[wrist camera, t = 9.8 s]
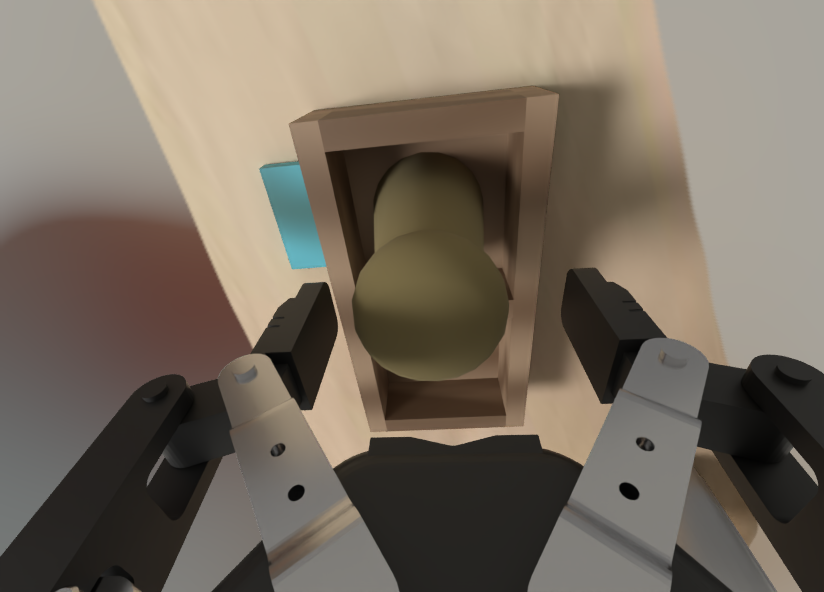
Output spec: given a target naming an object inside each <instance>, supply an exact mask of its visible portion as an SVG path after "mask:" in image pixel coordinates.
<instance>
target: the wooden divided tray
mask: <svg viewBox="0 0 824 592" xmlns="http://www.w3.org/2000/svg"><path fill="white" fill-rule="evenodd" d="M558 100H559V94H558V93H554V92H551V91H548V90H545V89H542V88H539V87H536V86H527V87H518V88H509V89H500V90H491V91H482V92H473V93H464V94H456V95H447V96H438V97H429V98H420V99H411V100H402V101H394V102H385V103H376V104H367V105H358V106H349V107H340V108H331V109H323V110H314V111H312V112H310V113H308V114H306V115H304V116H302V117H301V118H299V119H297V120H295V121H293V122H291V123H289V127H290V131H291V135H292V138H293V142H294V146H295V150H296V153H297V157H298V161H297V162H287V163H278V164H268V165H264V166H262V167H261V168H260V169H259V170H260V173H261V176H262V179H263V182H264V185H265V188H266V191H267V194H268V197H269V200H270V203H271V206H272V209H273V212H274V215H275V219H276V222H277V225H278V228H279V231H280V234H281V237H282V240H283V243H284V246H285V249H286V252H287V255H288V258H289V261H290V264H291V267H292V269H302V268H315V267H327V270H328V274H329V278H330V281H331V285H332V289H333V293H334V296H335V300H336V304H337V308H338V311H339V315H340V319H341V323H342V326H343V330H344V334H345V338H346V341H347V345H348V349H349V353H350V357H351V360H352V364H353V368H354V372H355V375H356V379H357V383H358V387H359V390H360V394H361V398H362V402H363V405H364V409H365V413H366V417H367V420H368V424H369V428H370V432H382V431H409V430H435V429H462V428H489V427H515V426H523V425H524V416H525V407H526V398H527V388H528V379H529V370H530V360H531V351H532V342H533V333H534V323H535V314H536V305H537V295H538V286H539V277H540V268H541V258H542V249H543V240H544V230H545V221H546V212H547V203H548V193H549V184H550V175H551V165H552V156H553V147H554V137H555V128H556V119H557V110H558ZM419 152H439V153H442V154H445V155H448V156H450V157H453V158H456V159H458V160H459V161H460V162H461V163H462V164H464V165H465V166H466V167H467V168H469V169H470V170H471V171H472V173H473V175H474V176H475V178H476V180H477V181H478V183H479V184H480V188H481V193H482V197H483V203H484V252H485V253H487V254H488V255H489V256H490V258H491V259H492V261H493V262H494V264H495V265H496V267H497V268H498V270H499V271H500V273H501V274H502V277H503V280H504V282H505V286H506V291H507V295H508V300H509V313H508V319H507V324H506V330H505V334H504V336H503V337H502V339H501V341H500V342H499V344H498V345H497V347H496V349H495V350H494V352H493V353H492V354H491V356H490V357H489V358H488V359H487V360H486V361H484V362H483V363H482V364H481V365H480V366H478V367H477V368H476V369H475V370H472V371H470V372H468V373H466V374H464V375H462V376H459V377H457V378H452V379H447V380H442V381H417V380H413V379H409V378H405V377H402V376H398V375H396V374H395V373H393V372H391V371H389V370H387V369H385V368H383V367H382V366H381V365H380V364H379V363H378V362H377V361H376V360H374V359H373V358H372V357H371V356H370V355H369V354H368V352H367V351H366V350H365V348H364V347H363V345H362V343H361V341H360V339H359V337H358V335H357V333H356V331H355V327H354V318H353V309H352V298H353V294H354V291H355V287H356V284H357V280H358V277H359V274H360V271H361V270H362V269H363V267H364V266H365V265H366V264H367V262H368V261H369V260H370V258H371V257H372V256H373V254H374V253H375V244H374V206H373V200H374V196H375V192H376V189H377V185H378V183H379V181H380V180H381V178H382V177H383V176H384V174H385V173H386V171H387V170H388V169H389V168H390V167H391V166H393V165H394V164H395V163H397V162H398V161H399V160H401V159H402V158H404V157H407V156H410V155H413V154H416V153H419Z"/></svg>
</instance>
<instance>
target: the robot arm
mask: <svg viewBox="0 0 824 592" xmlns="http://www.w3.org/2000/svg"><path fill="white" fill-rule="evenodd" d="M561 318H562V324H563V327H564V329H565V331H566V333H567V335H568V337H569V339H570V341H571V343H572V345H573V347H574V349H575V351H576V353H577V355H578V358H579V360H580V362H581V364H582V366H583V368H584V370H585V372H586V374H587V376H588V378H589V380H590V382H591V384H592V386H593V388H594V390H595V392H596V394H597V396H598V398H599V401H600V403H601V404H612V403H613V404H612V407H611V409H610V411H609V413H608V415H607V417H606V420H605V422H604V424H603V426H602V428H601V431H600V433H599V435H598V437H597V439H596V441H595V444H594V446H593V448H592V450H591V452H590V455H589V457H588V459H587V461H586V463H585V465H584V466H582V465H581V464H579V463H578V462H576V461H574V460H572V459H570V458H568V457H566V456H564V455H562V454H559V453H556V452H553V451H550V450H547V449H542V447H541V443H540V440H539V436H538V435H495V436H492V437H488V438H484V439H480V440H476V441H472V442H468V443H465V444H461V445H456V446H450V445H445V444H440V443H436V442H431V441H427V440H422V439H417V438H413V437H382V438H371V439H370V446H369V451H367V452H363V453H360V454H358V455H355V456H353V457H351V458H349V459H347V460H345V461H344V462H342V463H340V464H339V465H337V466H336V467H335V468H332V466H331V464H330V463H329V461H328V459H327V457H326V455H325V454H324V452H323V450H322V448H321V446H320V445H319V443H318V441H317V439H316V437H315V435H314V434H313V432H312V430H311V428H310V426H309V425H308V423H307V421H306V419H305V417H304V415H303V414H302V412H301V410H312V408H313V405H314V402H315V400H316V397H317V394H318V391H319V388H320V385H321V382H322V379H323V376H324V373H325V370H326V367H327V364H328V361H329V358H330V355H331V352H332V349H333V346H334V343H335V340H336V337H337V332H338V322H337V317H336V313H335V309H334V305H333V301H332V297H331V293H330V289H329V286H328V284H327V283H326V282H319V283H304V284H303V285H302V287H301V289H300V290H299V292H298V294H297V296H296V298H289V299H288V300H287V301H286V302H285V303H283V304H282V305H281V306H280V307H278V309H277V311H276V312H275V314H274V316H273V319H271V321H270V322H269V324H268V328H266V329H265V331H264V332H263V334H262V336H261V337H260V339H259V341H258V342H257V344H256V345H255V347H254V349H253V350H252V352H251V354H250V355H246V356H242V357H240V358H238V359H236V360H234V361H232V362H231V363H229V364H228V365H227V366H226V367H225V368H224V369H223V370H222V371H221V373H220V375H219V377H218V379H215V380H211V381H208V382H204V383H200V384H196V385H193V386H189V385H188V383H187V381H186V380H185V378H184V377H182V376H180V375H176V374H171V375H165V376H161V377H158V378H156V379H153V380H151V381H149V382H148V383H146V384H144V385H142V386H141V387H140V388H139V389H137V390H136V391H135V392H134V393H133V394H132V395H131V396H130V398H129V399H128V400H127V401H126V403H125V404H124V405H123V406H122V407H121V409H120V410H119V411H118V412H117V414H116V415H115V416H114V417H113V418H112V420H111V421H110V422H109V423H108V425H107V426H106V427H105V428H104V430H103V431H102V432H101V433H100V434H99V436H98V437H97V438H96V440H95V441H94V442H93V443H92V444H91V446H90V447H89V448H88V449H87V451H86V452H85V453H84V454H83V456H82V457H81V458H80V459H79V461H78V462H77V463H76V464H75V465H74V467H73V468H72V469H71V470H70V471H69V473H68V474H67V475H66V477H65V478H64V479H63V480H62V481H61V483H60V484H59V485H58V486H57V487H56V489H55V490H54V491H53V492H52V494H51V495H50V496H49V497H48V499H47V500H46V501H45V502H44V503H43V505H42V506H41V507H40V508H39V510H38V511H37V512H36V513H35V515H34V516H33V517H32V518H31V520H30V521H29V522H28V523H27V525H26V526H25V527H24V528H23V529H22V531H21V532H20V533H19V534H18V536H17V537H16V538H15V539H14V540H13V542H12V543H11V544H10V546H9V547H8V548H7V549H6V551H5V552H4V553H3V554H2V555H1V557H0V592H161V591H162V589H163V587H164V584H165V582H166V580H167V578H168V576H169V573H170V571H171V569H172V567H173V565H174V563H175V560H176V558H177V556H178V554H179V552H180V549H181V547H182V545H183V543H184V541H185V538H186V536H187V534H188V532H189V530H190V527H191V525H192V523H193V521H194V519H195V516H196V514H197V512H198V510H199V507H200V505H201V503H202V501H203V499H204V496H205V494H206V492H207V490H208V488H209V486H210V483H211V481H212V479H213V477H214V475H215V473H216V470H217V468H218V466H219V464H220V462H221V459H222V457H223V456H225V455H229V454H232V453H235V452H236V456H237V459H238V462H239V465H240V468H241V472H242V475H243V478H244V481H245V485H246V488H247V492H248V495H249V498H250V501H251V505H252V508H253V511H254V514H255V518H256V521H257V524H258V527H259V531H260V534H261V537H262V541H261V542H260V543H259V544H258V545H257V546H256V547H255V548H254V549H253V550H252V551H251V552H250V553H249V554H248V555H247V556H246V557H245V558H244V559H243V560H242V561H241V562H240V563H239V564H238V565H237V566H236V567H235V568H234V569H233V570H232V571H231V572H230V573H229V574H228V575H227V576H226V577H225V578H224V580H222V581H221V582H220V583H219V585H217V587H216V588H215V589H214V590H213V591H212V592H777V590H776V589H775V588H774V586H773V584H772V583H771V581H770V580H769V578H768V577H767V575H766V574H765V572H764V571H763V569H762V567H761V566H760V564H759V563H758V561H757V560H756V558H755V557H754V555H753V554H752V552H751V551H750V549H749V547H748V546H747V544H746V543H745V541H744V540H743V538H742V537H741V535H740V534H739V532H738V531H737V529H736V528H735V526H734V524H733V523H732V521H731V520H730V518H729V517H728V515H727V514H726V512H725V511H724V509H723V508H722V506H721V504H720V503H719V501H718V500H717V498H716V497H715V495H714V494H713V492H712V491H711V489H710V488H709V486H708V485H707V483H706V481H705V480H704V478H703V477H701V476H699V474H698V473H697V471H696V470H695V468H694V467H693V462H694V457H695V452H696V448H697V447H701V448H705V449H709V450H712V451H713V453H714V455H715V456H716V458H717V459H718V461H719V462H720V464H721V466H722V467H723V469H724V470H725V472H726V473H727V475H728V476H729V478H730V480H731V481H732V483H733V484H734V486H735V487H736V489H737V491H738V492H739V494H740V495H741V497H742V498H743V500H744V502H745V503H746V505H747V506H748V508H749V509H750V511H751V512H752V514H753V516H754V517H755V519H756V520H757V522H758V523H759V525H760V527H761V528H762V530H763V531H764V533H765V534H766V536H767V537H768V539H769V541H770V542H771V544H772V545H773V547H774V548H775V550H776V552H777V553H778V554H779V556H780V558H781V559H782V561H783V563H784V564H785V566H786V567H787V569H788V570H789V572H790V573H791V575H792V577H793V578H794V580H795V581H796V583H797V584H798V586H799V588H800V589H801V591H802V592H824V374H823V373H822V372H820V371H819V370H817V369H815V368H814V367H812V366H810V365H808V364H806V363H804V362H801V361H798V360H795V359H792V358H789V357H784V356H778V355H761V356H757V357H755V358H754V359H753V360H752V361H751V363H750V365H749V366H748V368H747V369H742V368H735V367H730V366H724V365H718V364H713V363H708V360H707V358H706V357H705V356H704V355H703V354H702V353H701V352H700V351H699V350H697V349H696V348H694V347H693V346H691V345H689V344H687V343H684V342H681V341H678V340H675V339H669V338H667V337H666V336H665V335H664V334H663V332H662V331H661V330H660V329H659V328H658V326H657V325H656V324H655V323H654V322H653V320H652V319H651V318H650V317H649V316H648V314H647V313H646V312H645V311H643V308H642V307H641V306H640V305H639V304H638V303H636V300H635V299H634V298H633V296H632V295H631V294H630V293H629V292H628V290H626V289H624V288H623V287H621V286H619V285H618V284H616V283H614V282H606V280H605V279H604V278H603V276H602V275H601V274H600V273H599V271H598V270H597V269H596V268H579V269H570V270H569V271H568V273H567V277H566V283H565V289H564V295H563V301H562V308H561ZM793 447H794V448H795V449H796V450H797V451H798V453H799V454H800V455H801V456H802V457H803V458H804V460H805V461H806V462H807V463H808V464H809V465H810V467H811V468H812V469H813V471H814V472H815V475H816V477H817V480H818V486H817V484H816V483H815V482H814V481H813V480H812V478H811V477H810V476H809V475H808V474H807V472H806V471H805V470H804V469H803V468H802V466H801V465H800V464H799V463H798V462H797V460H796V459H795V458H794V457H793V456H792V454H791V453H790V451H791V449H792V448H793ZM161 454H163V456H164V457H165V458H164V460H163V462H162V463H161V465H160V466H159V468H158V470H157V472H156V473H155V475H154V476H153V478H152V480H151V482H150V483H149V485H148V486H147V479H148V476H149V474H150V472H151V470H152V469H153V467H154V465H155V464H156V462H157V461H158V459H159V457H160V456H161Z"/></svg>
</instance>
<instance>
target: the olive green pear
mask: <svg viewBox="0 0 824 592" xmlns="http://www.w3.org/2000/svg"><path fill="white" fill-rule="evenodd" d="M373 206H374V244H375V253H374V254H373V256H372V257H371V258H370V260H369V261H368V262H367V264H366V265H365V266H364V267H363V269H362V270H361V271H360V274H359V277H358V280H357V284H356V287H355V291H354V294H353V298H352V309H353V318H354V327H355V331H356V333H357V335H358V337H359V339H360V341H361V343H362V345H363V347H364V348H365V350H366V351H367V352H368V354H369V355H370V356H371V357H372V358H373V359H374V360H376V361H377V362H378V363H379V364H380V365H381V366H382V367H383V368H385V369H387V370H389V371H391V372H393V373H395V374H396V375H398V376H402V377H405V378H409V379H413V380H417V381H442V380H447V379H452V378H457V377H459V376H462V375H464V374H466V373H468V372H470V371H472V370H475V369H476V368H477V367H478V366H480V365H481V364H482V363H483V362H484V361H486V360H487V359H488V358H489V357H490V356H491V354H492V353H493V352H494V350H495V349H496V347H497V345H498V344H499V342H500V341H501V339H502V337H503V336H504V334H505V330H506V324H507V319H508V313H509V300H508V295H507V291H506V286H505V282H504V280H503V277H502V274H501V273H500V271H499V270H498V268H497V267H496V265H495V264H494V262H493V261H492V259H491V258H490V256H489V255H488V254H487V253H485V252H484V203H483V197H482V193H481V188H480V184H479V183H478V181H477V180H476V178H475V176H474V175H473V173H472V171H471V170H470V169H469V168H467V167H466V166H465V165H464V164H462V163H461V162H460V161H459V160H458V159H456V158H453V157H450V156H448V155H445V154H442V153H439V152H419V153H416V154H413V155H410V156H407V157H404V158H402V159H401V160H399V161H398V162H397V163H395V164H394V165H393V166H391V167H390V168H389V169H388V170H387V171H386V173H385V174H384V176H383V177H382V178H381V180H380V181H379V183H378V185H377V189H376V192H375V196H374V200H373Z"/></svg>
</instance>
